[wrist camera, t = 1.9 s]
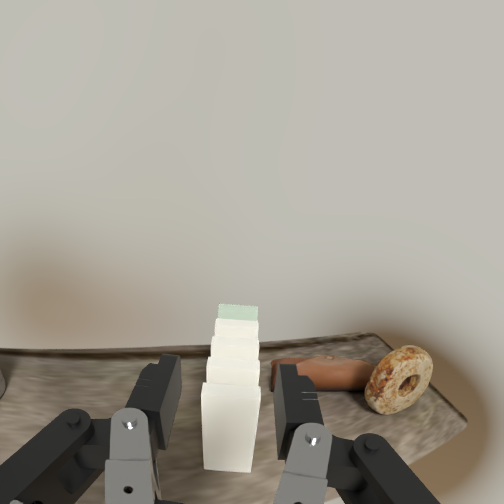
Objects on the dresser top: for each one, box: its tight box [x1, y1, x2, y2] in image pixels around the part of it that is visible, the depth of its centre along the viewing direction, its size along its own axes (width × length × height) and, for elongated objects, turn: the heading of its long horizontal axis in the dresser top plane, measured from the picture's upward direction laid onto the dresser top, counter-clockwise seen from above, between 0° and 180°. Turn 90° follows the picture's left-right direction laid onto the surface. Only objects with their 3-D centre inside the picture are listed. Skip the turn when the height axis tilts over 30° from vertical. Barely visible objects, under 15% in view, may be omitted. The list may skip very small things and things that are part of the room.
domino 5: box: [201, 383, 261, 473], centre depth 28 cm, size 2×5×12 cm, turn 90°
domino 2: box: [215, 318, 258, 339], centre depth 39 cm, size 2×5×12 cm, turn 90°
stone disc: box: [365, 345, 433, 415], centre depth 37 cm, size 10×4×10 cm, turn 104°
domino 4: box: [207, 357, 260, 387], centre depth 31 cm, size 2×5×12 cm, turn 90°
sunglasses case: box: [271, 356, 376, 392], centre depth 45 cm, size 18×7×7 cm
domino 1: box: [218, 304, 258, 321], centre depth 43 cm, size 2×5×12 cm, turn 90°
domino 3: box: [211, 336, 259, 360], centre depth 35 cm, size 2×5×12 cm, turn 90°
